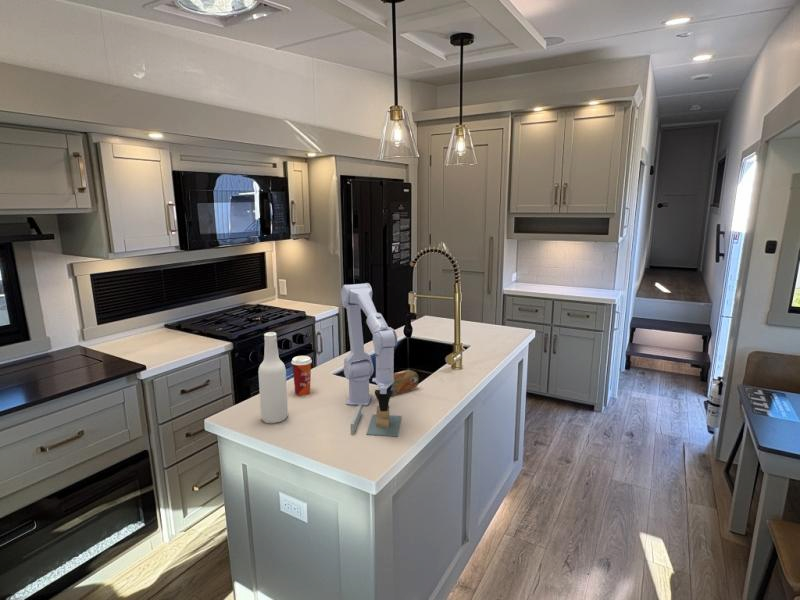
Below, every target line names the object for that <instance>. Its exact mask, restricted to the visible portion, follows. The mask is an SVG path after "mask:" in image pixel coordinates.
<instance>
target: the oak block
mask: <svg viewBox="0 0 800 600" xmlns="http://www.w3.org/2000/svg"><path fill="white" fill-rule="evenodd" d="M375 411H376V412H375V414H376V427H386V428H389V415H390V404H388V409H387V411H380V407H379V404H377V406H376V410H375Z"/></svg>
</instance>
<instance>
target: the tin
mask: <svg viewBox="0 0 800 600" xmlns="http://www.w3.org/2000/svg"><path fill="white" fill-rule="evenodd" d="M419 381H420V377H419V375H418V373H417V372H416V371H415V370H411V369H406V370H402V371H398V372H394V383H393V385H392V387H391V390H390V391H393V393H392V396H394V397H395V396H399V395H403V394H405V393H406V394H407V393H409V392H412V391H414V390H415V389H417V387H418V384H419ZM392 396H391V397H392Z"/></svg>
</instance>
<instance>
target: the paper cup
mask: <svg viewBox="0 0 800 600" xmlns="http://www.w3.org/2000/svg"><path fill="white" fill-rule="evenodd" d="M290 363H291V365H292V374H293V382H294V383H293V384H294V391H295V395H297V396H303V395H304V396H308V395H309V394H310V393H311V377H312V376H311V374H312V373H311V372H312V370H311V369H312V363H313V360H312V358H311V357H310V356H308V355H297V356H294V357H293V358H292V360H291V362H290Z"/></svg>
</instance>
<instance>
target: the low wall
mask: <svg viewBox="0 0 800 600" xmlns="http://www.w3.org/2000/svg"><path fill="white" fill-rule="evenodd" d="M362 406H363V405H357V407H356V411H355V413H354V415H353V417H352V420H351V422H350V434H351V435H354V434H355V432H356V430H357V426H358V425H359V423H360V420H361V417H362V414H363V413H362Z"/></svg>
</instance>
